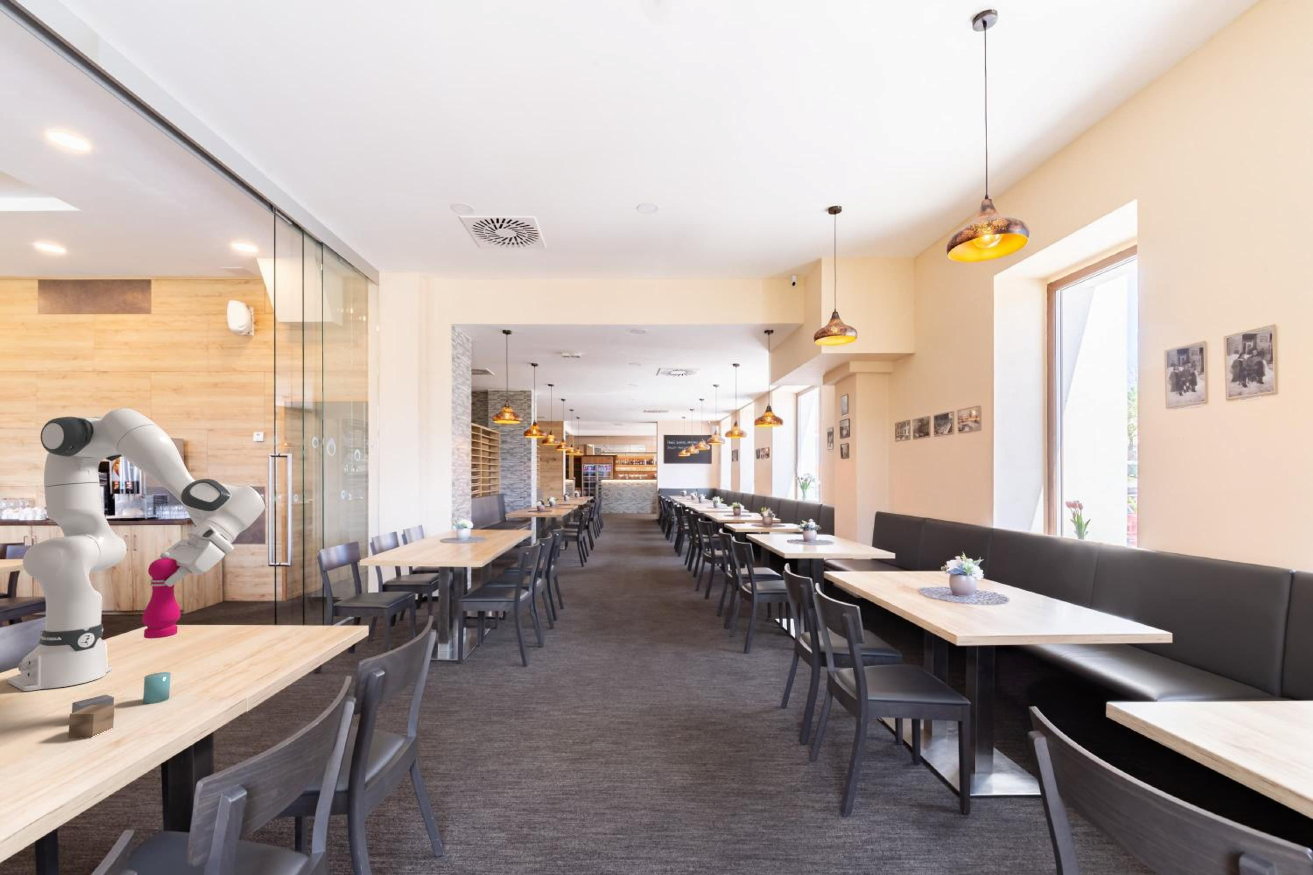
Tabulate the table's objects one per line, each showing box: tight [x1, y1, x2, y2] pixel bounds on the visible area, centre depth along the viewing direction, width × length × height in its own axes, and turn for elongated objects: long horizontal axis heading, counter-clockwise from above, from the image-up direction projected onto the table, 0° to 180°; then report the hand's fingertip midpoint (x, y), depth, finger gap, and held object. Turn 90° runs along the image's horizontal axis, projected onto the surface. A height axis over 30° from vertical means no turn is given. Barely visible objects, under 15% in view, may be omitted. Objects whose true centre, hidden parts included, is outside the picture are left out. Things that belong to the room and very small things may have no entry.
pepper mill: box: [141, 551, 181, 640], centre depth 146 cm, size 7×7×20 cm
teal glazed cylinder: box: [142, 671, 172, 705], centre depth 149 cm, size 5×5×6 cm
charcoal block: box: [71, 694, 115, 713], centre depth 139 cm, size 4×6×4 cm, turn 152°
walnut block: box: [67, 704, 115, 739], centre depth 130 cm, size 5×5×5 cm
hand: (160, 583), depth 146 cm, fingers closed on pepper mill, 5 cm apart
